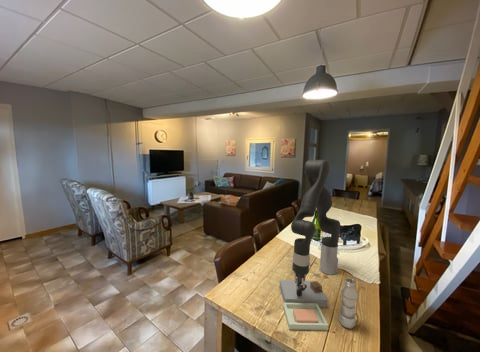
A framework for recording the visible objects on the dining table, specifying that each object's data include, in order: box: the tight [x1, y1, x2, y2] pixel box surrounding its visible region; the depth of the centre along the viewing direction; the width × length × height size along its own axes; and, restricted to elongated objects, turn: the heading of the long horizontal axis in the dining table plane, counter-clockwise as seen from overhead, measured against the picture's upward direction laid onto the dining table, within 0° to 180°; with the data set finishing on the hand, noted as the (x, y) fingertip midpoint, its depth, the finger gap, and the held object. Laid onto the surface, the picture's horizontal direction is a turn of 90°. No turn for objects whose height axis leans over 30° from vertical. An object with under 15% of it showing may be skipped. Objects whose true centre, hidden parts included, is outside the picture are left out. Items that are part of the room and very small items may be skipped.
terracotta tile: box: [293, 309, 318, 323], centre depth 86 cm, size 9×6×3 cm, turn 90°
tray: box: [282, 301, 329, 332], centre depth 88 cm, size 16×12×2 cm
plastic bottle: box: [338, 277, 359, 329], centre depth 84 cm, size 6×7×20 cm
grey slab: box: [279, 279, 329, 308], centre depth 101 cm, size 20×14×4 cm
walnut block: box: [310, 280, 323, 293], centre depth 100 cm, size 4×4×3 cm
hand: (298, 295), depth 95 cm, fingers closed
